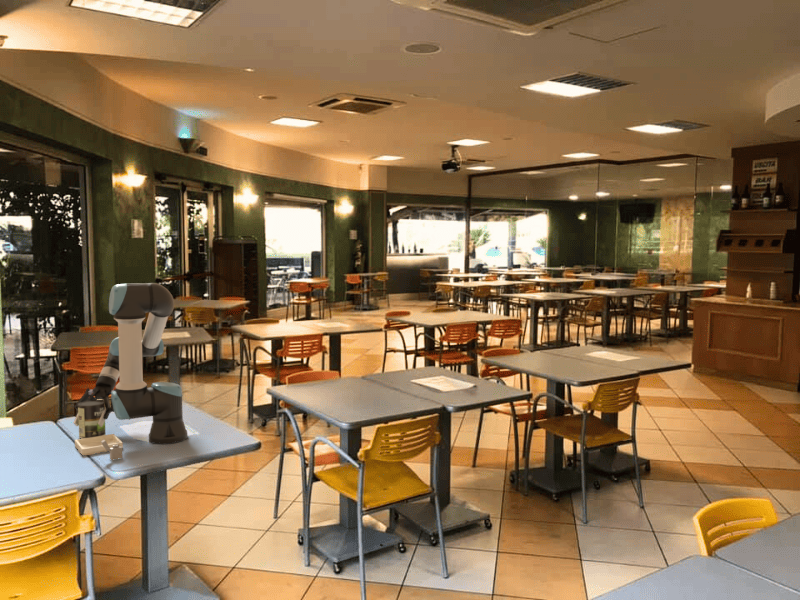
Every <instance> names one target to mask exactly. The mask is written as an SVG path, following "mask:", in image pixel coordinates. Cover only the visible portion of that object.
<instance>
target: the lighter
mask: <svg viewBox="0 0 800 600" xmlns="http://www.w3.org/2000/svg"><path fill="white" fill-rule="evenodd" d="M101 443H102V445H103V446H104V448H105V449H106V451H109V450H110V451H109V460H110V459H111V460H112V461H114V460H113V459H117V460H119V459H118V458H122V459H123V449H122V447H121V446H120V445H113V448H110V447H109V446H108V444H107V442H106V441H105V440H103V441H101ZM111 460H110V461H111Z"/></svg>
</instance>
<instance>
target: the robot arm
mask: <svg viewBox="0 0 800 600" xmlns="http://www.w3.org/2000/svg"><path fill="white" fill-rule="evenodd" d="M174 308H175V300H174V297H173V294H171V292H170V291H169V290H168V289H167V287H165V286H163V285H161V284H159V283H155V282H148V283H147V282H145V283H141V282H140V283H137V282H136V283H120V284H119V283H118V284H115V285H113V286H112V287H111V290H110V293H109V299H108V311H109V312H108V313H109V314H110V315H112V316H113V320H115V322H117V328H118V330H117V333H118V337H115V338H114V339H112V341H111V342H110V344H109V348H108V353H107V356H106V360H105V362H104V365H103V367H102V369H101V371H100V373H99V375H98V378H97V380H96V382H95V387H94V388H93V389H90V388H89V387H88V388H86V389H85V392H84V394H83V395H82V396H81V398H80V399H79V400H78V401H77V403H76V404H75V405H74V406H73V407H74V409H76V413H75V415H74V417H75V419H74V421H73V424H74V425H75V426H76V427H79V421H78V403H80V402H84V401H91V400H103V401H104V402H105V404H104V406H105V410H103V413H102V415H101V417H100V420H99V422H98V425H99V426H100V427H102V426H103V424H104V422H105V423H106V420H108V418H109V416H110V414H111V413H112V412H113V413H114V414H115V417H116V419H118V420H121V421H124V420H128V421H129V420H133V419H140V418H148V417H152V424H151V427H150V430H149V433H148V441H149V442H150V443H151V444H157V445H166V444H175V443H179V442H182V441H185V440H186V439H188V430H187V429H186V428H187V427H186V425H185V421H184V417H183V416H184V415H183V389H182V387H181V385H180V384H178V383H174V382H167V381H156V382H152V383H151V385H150V386H151V387H148V384H147V382H145V381H144V378H143V373H144V372H143V368H144V367H143V358H144V357H156V356H161V355H163V354H164V350H165V349H164V348H165V347H164V346H165V345H164V341H163V339H162V337H163V334H164V332H165V327H166V325H167V322H168V319H169V317H170V316H171V315H172V313H173V311H174ZM146 313H147V314H148V316H146ZM146 317H147V321H146V324H145V328H144V331H143V333H142V327H143V326H142V324H143V321H144V320H145V319H146ZM118 379H119V382H118ZM117 382H118V383H117ZM116 383H117V384H116ZM109 396H110V397H111V398H110V397H109ZM110 399H111V400H110Z"/></svg>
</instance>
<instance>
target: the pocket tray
mask: <svg viewBox="0 0 800 600" xmlns="http://www.w3.org/2000/svg"><path fill="white" fill-rule="evenodd" d="M103 440H105V441H106V442H107V444H108V446H109V447H110V448H113V445H120V446H121V447H122V450H123V449H124V445H123V444H124V443H123V442H122V440H121V439H120V438H119V437H117V435H116V434H115V433H109V434H106V435H103V436H97V437H90V438H84V439H80V438H79V439H74V448H76V449H78V450H77V451H78V452H79V454H80V453H81V454H82V455H85V456H91V455H95V453H97V454H101V453H100V452H103V453H106V452H107V451H106V449H105V448H104V446H103V445H102V443H101V441H103ZM109 452H110V450H109ZM107 453H108V452H107ZM81 454H80V455H81ZM82 455H81V456H82Z"/></svg>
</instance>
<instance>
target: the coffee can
mask: <svg viewBox="0 0 800 600" xmlns="http://www.w3.org/2000/svg"><path fill="white" fill-rule="evenodd" d="M103 410H106V408H105V402H104V400H102V399H97V400H91V401H84V402H80V403H78V421H79V425H78V438H79V439H80V438H81V439H84V438H90V437H97V436H103V435H107V434H106V421H105V422H104V424H103V426H102V427H100V426H99V425H98V422H99V420H100V417H101V415H102V413H103Z"/></svg>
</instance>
